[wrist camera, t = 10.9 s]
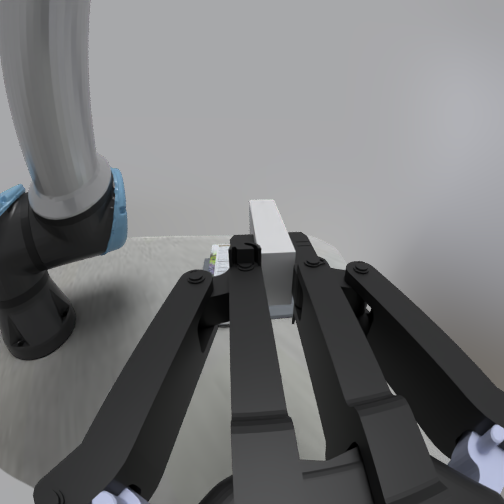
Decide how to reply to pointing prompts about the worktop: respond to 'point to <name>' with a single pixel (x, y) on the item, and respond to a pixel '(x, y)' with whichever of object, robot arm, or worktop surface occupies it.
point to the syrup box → (219, 261)
